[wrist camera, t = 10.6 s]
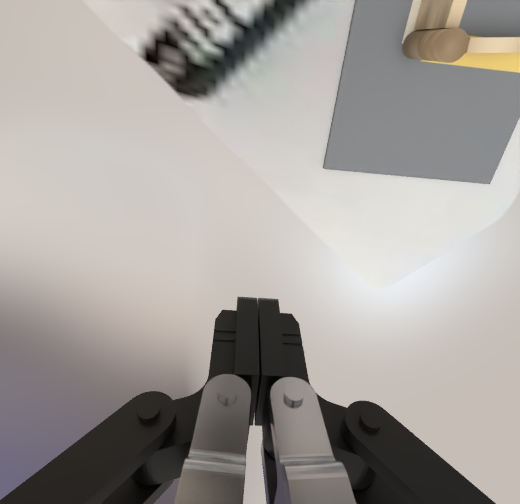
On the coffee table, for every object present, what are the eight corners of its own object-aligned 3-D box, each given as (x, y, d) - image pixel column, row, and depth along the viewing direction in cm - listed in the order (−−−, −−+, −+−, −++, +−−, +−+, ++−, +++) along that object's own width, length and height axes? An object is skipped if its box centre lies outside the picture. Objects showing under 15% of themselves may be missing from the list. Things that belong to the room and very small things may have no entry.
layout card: (401, -239, 24) (404, -244, 24) (653, -194, 25) (659, -197, 25) (323, 167, 38) (323, 169, 38) (487, 182, 40) (490, 184, 39)
